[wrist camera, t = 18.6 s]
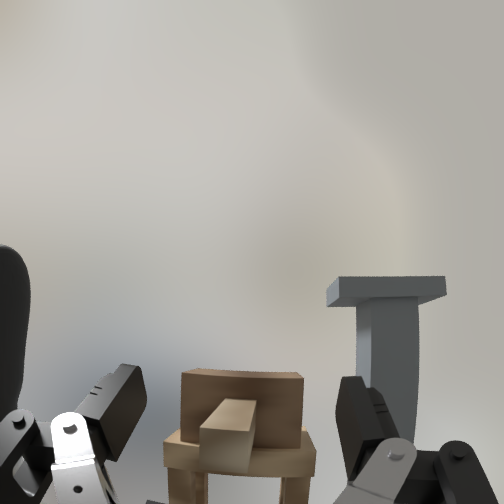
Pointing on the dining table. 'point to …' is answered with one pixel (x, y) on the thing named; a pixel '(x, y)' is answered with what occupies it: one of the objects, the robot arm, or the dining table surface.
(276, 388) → the mallet
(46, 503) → the dining table surface
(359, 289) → the stand
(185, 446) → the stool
